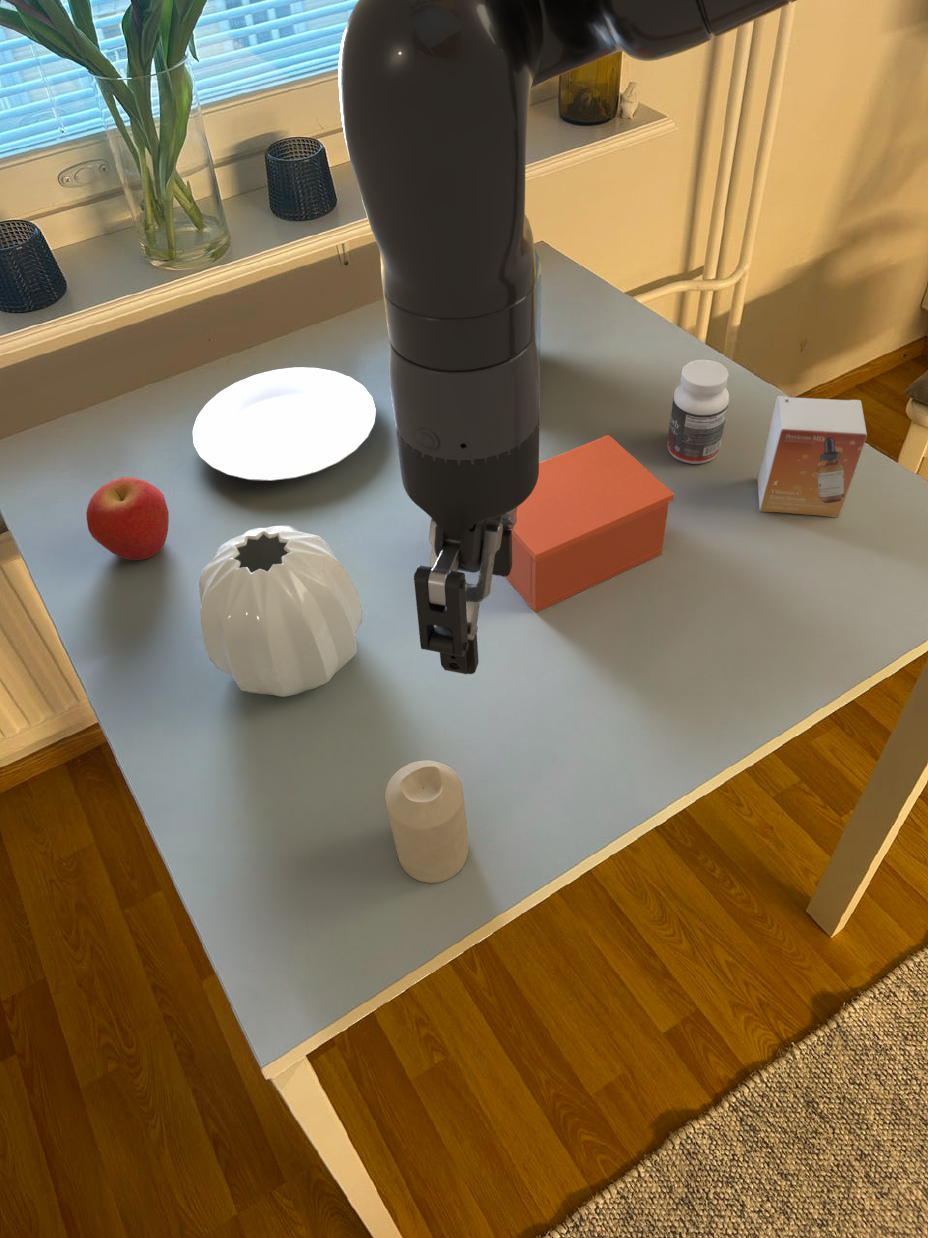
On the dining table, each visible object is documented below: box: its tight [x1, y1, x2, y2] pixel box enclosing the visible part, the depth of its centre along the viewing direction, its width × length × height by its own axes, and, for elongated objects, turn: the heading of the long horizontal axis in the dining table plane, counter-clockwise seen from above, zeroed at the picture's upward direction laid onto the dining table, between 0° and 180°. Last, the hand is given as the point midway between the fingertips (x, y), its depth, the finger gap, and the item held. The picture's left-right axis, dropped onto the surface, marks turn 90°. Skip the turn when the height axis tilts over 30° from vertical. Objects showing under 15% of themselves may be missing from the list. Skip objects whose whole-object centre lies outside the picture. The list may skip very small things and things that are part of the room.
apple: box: [85, 476, 170, 561], centre depth 94 cm, size 8×8×8 cm
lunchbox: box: [504, 502, 670, 613], centre depth 90 cm, size 15×11×7 cm
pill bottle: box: [666, 359, 730, 465], centre depth 99 cm, size 6×6×10 cm
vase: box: [198, 525, 363, 698], centre depth 81 cm, size 14×14×13 cm
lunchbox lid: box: [509, 434, 675, 561], centre depth 88 cm, size 15×11×1 cm
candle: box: [384, 760, 470, 884], centre depth 68 cm, size 6×6×10 cm
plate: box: [192, 366, 377, 482], centre depth 107 cm, size 21×21×2 cm
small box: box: [757, 395, 868, 518], centre depth 92 cm, size 8×6×10 cm
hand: (478, 617), depth 60 cm, fingers open, 8 cm apart
